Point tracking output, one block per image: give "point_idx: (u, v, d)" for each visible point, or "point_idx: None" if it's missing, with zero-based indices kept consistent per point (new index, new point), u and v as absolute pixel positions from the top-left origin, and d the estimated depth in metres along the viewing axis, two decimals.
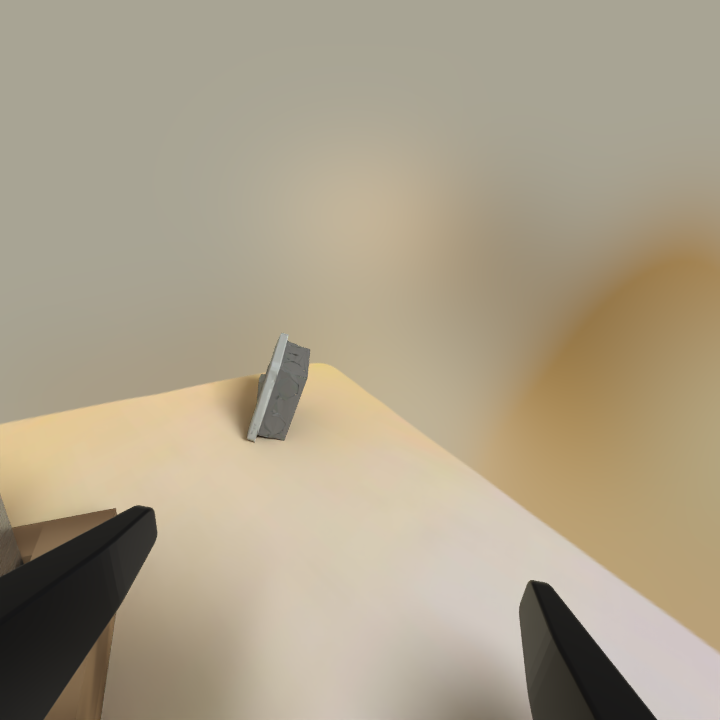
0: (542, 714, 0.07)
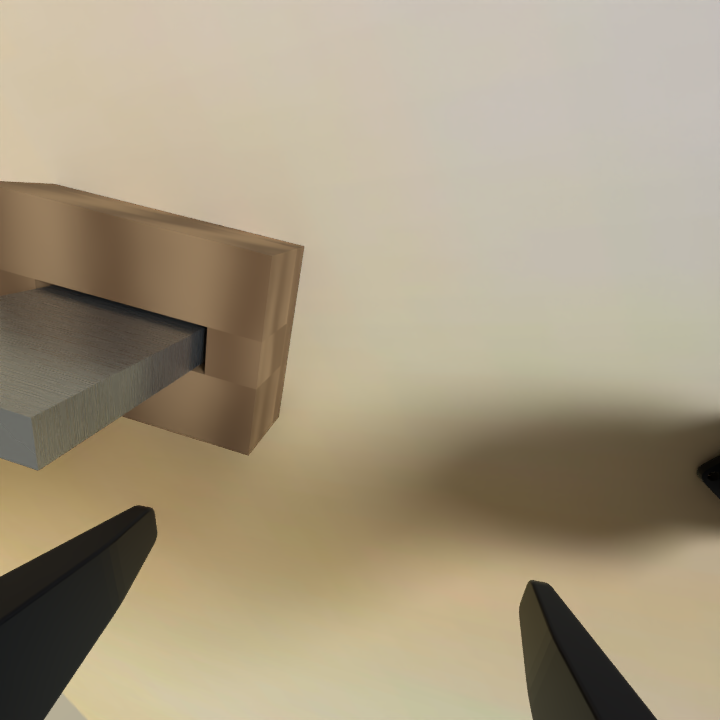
0: (542, 714, 0.07)
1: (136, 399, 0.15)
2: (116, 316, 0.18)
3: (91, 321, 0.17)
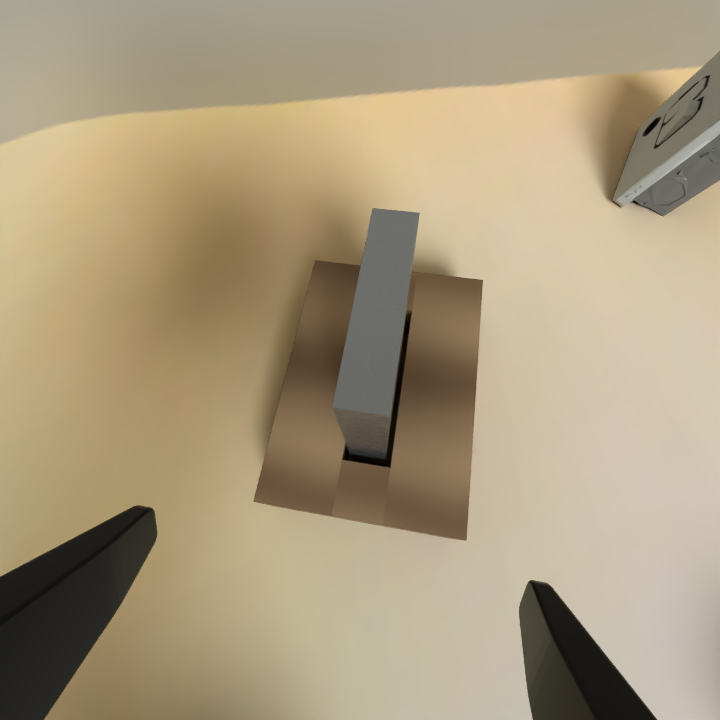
0: (542, 714, 0.07)
1: (349, 436, 0.16)
2: None
3: (397, 374, 0.19)
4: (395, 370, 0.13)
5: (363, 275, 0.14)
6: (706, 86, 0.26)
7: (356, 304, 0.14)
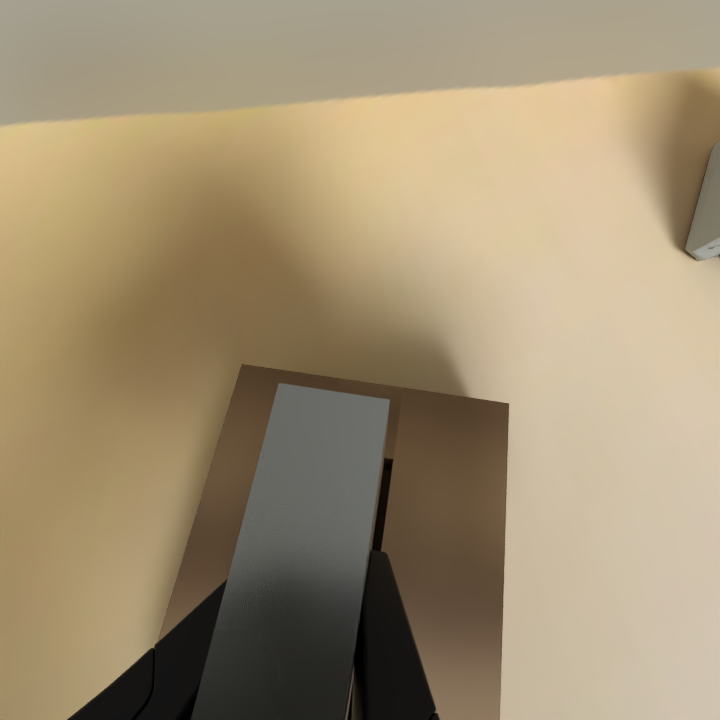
0: (354, 672, 0.08)
1: None
2: None
3: None
4: None
5: (234, 602, 0.05)
6: None
7: (201, 716, 0.05)
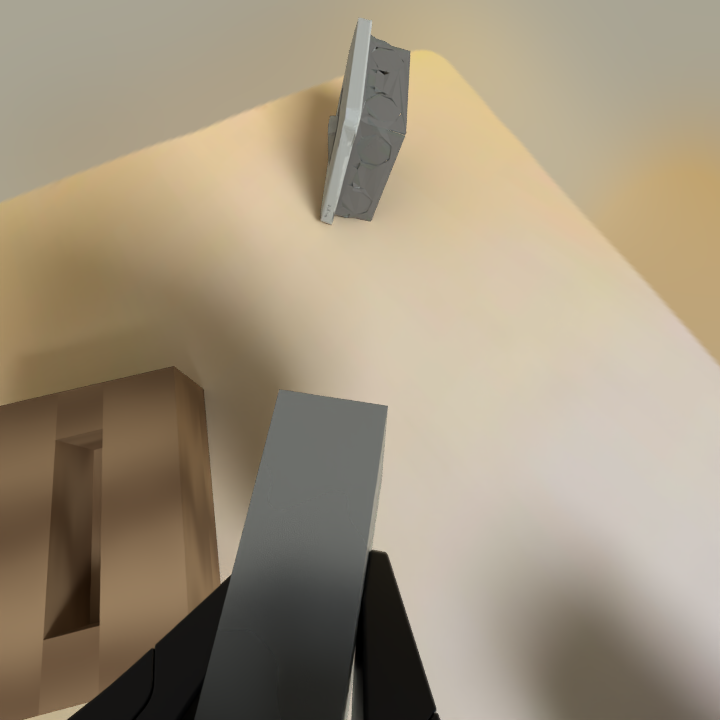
0: (354, 672, 0.08)
1: None
2: None
3: None
4: None
5: (236, 604, 0.05)
6: (341, 99, 0.26)
7: (204, 714, 0.05)
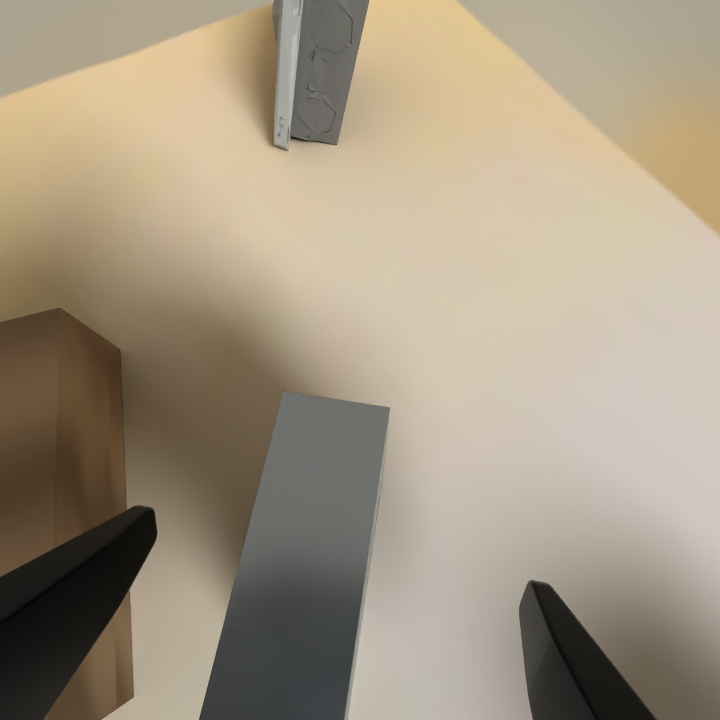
0: (542, 714, 0.07)
1: None
2: None
3: None
4: None
5: (241, 603, 0.06)
6: None
7: (210, 710, 0.05)
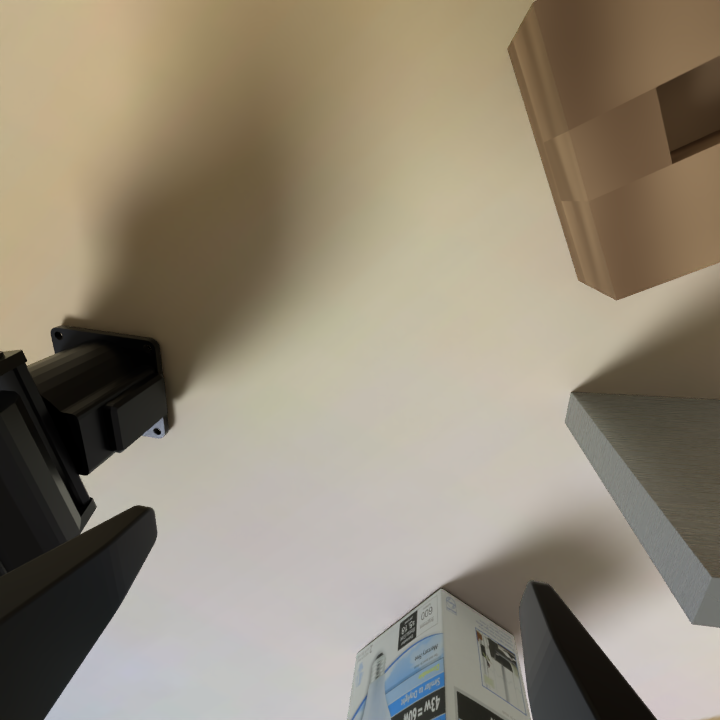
0: (542, 714, 0.07)
1: (635, 486, 0.14)
2: None
3: None
4: None
5: None
6: None
7: None
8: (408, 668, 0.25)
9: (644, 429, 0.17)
